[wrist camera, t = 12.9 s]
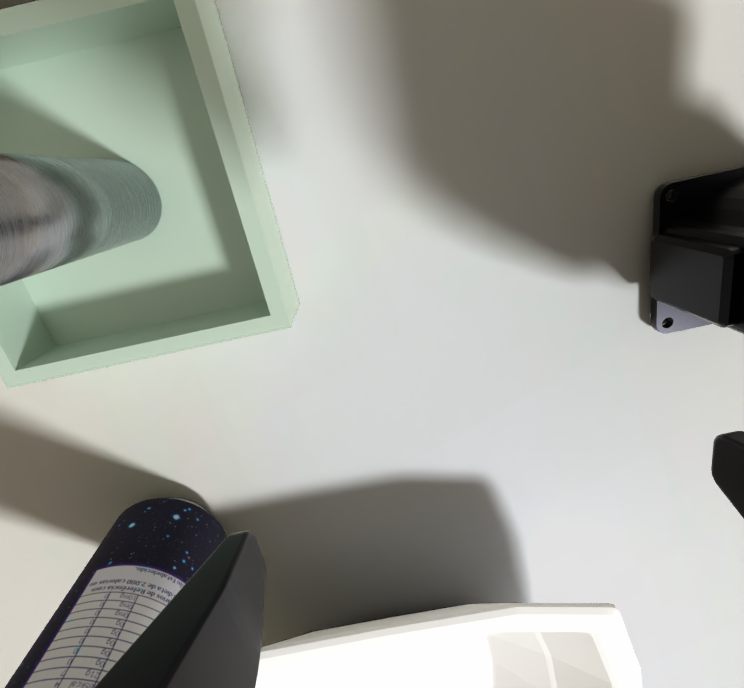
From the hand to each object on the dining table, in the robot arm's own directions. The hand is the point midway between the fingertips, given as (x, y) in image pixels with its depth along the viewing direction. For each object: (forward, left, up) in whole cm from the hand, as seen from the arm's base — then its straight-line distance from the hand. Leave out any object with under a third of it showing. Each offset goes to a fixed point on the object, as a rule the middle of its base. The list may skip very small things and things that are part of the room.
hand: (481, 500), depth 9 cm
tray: (+10, -7, -12) cm, 17 cm away
